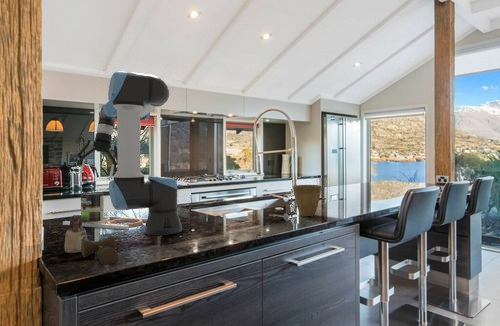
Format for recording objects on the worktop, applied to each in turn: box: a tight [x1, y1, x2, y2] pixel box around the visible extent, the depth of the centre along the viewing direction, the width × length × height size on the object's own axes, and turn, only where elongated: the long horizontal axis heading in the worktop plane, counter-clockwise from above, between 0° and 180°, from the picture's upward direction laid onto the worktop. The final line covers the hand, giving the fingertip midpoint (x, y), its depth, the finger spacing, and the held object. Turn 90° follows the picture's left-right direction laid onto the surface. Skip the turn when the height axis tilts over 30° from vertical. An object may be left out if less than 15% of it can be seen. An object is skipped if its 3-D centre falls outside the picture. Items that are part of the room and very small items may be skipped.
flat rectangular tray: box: [62, 215, 148, 230], centre depth 164 cm, size 36×19×2 cm, turn 71°
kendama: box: [81, 235, 119, 266], centre depth 108 cm, size 6×10×20 cm
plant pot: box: [292, 184, 322, 217], centre depth 182 cm, size 15×15×16 cm
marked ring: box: [106, 217, 144, 228], centre depth 161 cm, size 15×15×2 cm
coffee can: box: [80, 191, 105, 222], centre depth 167 cm, size 10×10×14 cm
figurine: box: [64, 214, 88, 254], centre depth 117 cm, size 7×7×12 cm
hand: (96, 175), depth 170 cm, fingers open, 13 cm apart
